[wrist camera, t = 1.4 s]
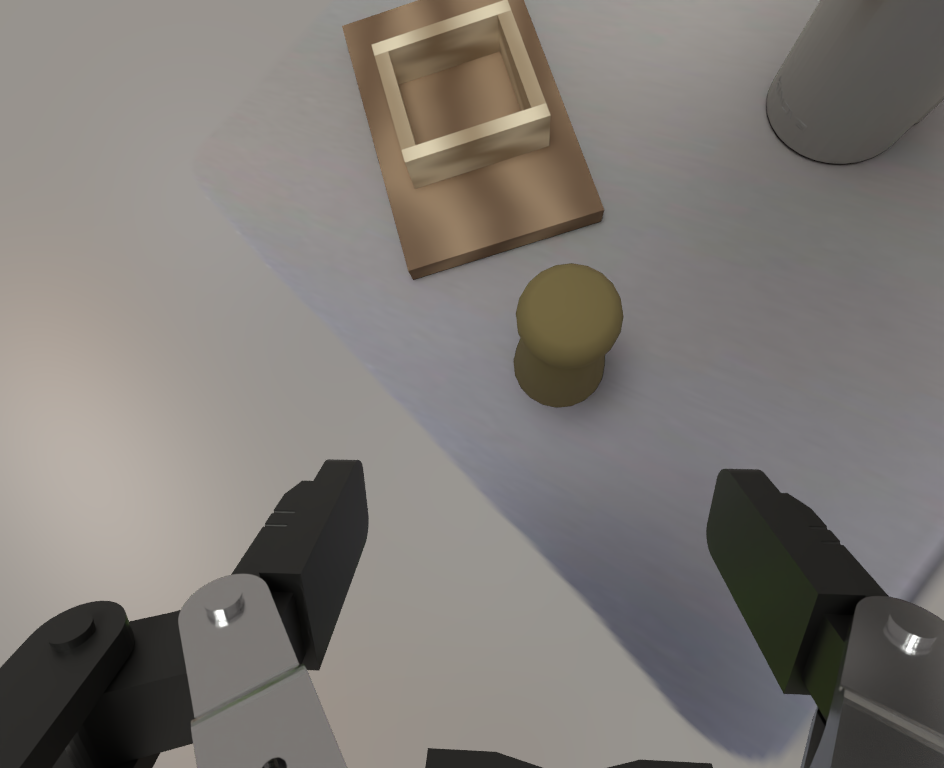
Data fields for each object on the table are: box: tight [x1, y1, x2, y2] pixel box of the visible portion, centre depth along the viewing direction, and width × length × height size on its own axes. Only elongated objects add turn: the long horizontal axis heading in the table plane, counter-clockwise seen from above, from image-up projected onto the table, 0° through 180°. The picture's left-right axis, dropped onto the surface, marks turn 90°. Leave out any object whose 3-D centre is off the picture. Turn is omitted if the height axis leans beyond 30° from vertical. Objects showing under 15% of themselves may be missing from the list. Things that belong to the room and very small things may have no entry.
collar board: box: [342, 0, 604, 280], centre depth 37 cm, size 14×22×4 cm, turn 16°
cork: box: [514, 263, 623, 407], centre depth 29 cm, size 6×6×11 cm
